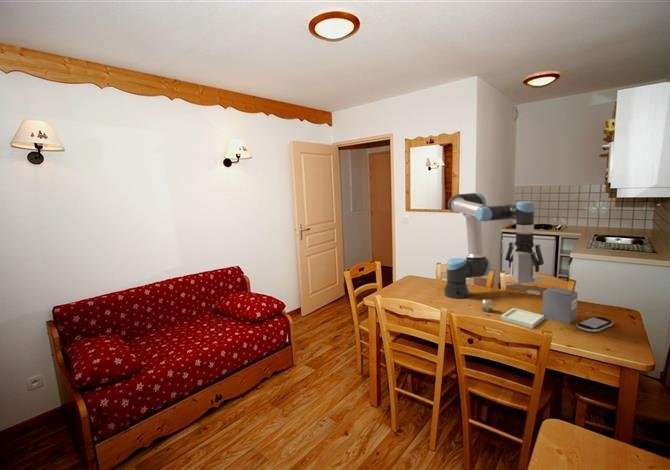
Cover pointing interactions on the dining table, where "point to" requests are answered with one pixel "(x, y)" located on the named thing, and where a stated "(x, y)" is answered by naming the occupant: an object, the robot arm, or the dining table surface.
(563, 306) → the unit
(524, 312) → the tray
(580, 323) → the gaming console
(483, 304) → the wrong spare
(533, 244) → the robot arm
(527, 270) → the skincare box
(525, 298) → the dining table surface
